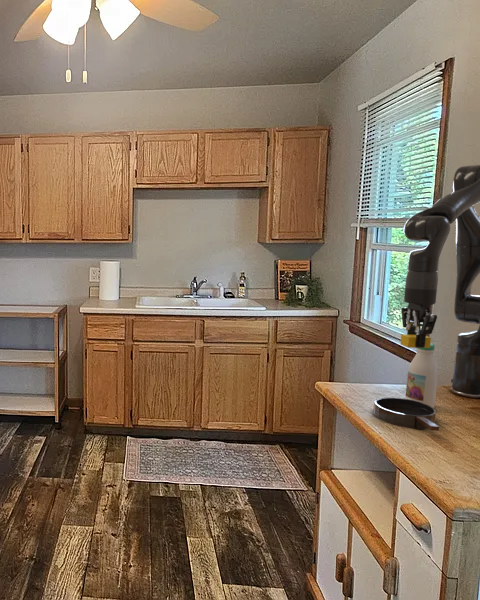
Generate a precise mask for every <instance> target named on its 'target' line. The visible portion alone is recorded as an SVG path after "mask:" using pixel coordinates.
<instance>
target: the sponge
mask: <svg viewBox="0 0 480 600" xmlns="http://www.w3.org/2000/svg"><path fill="white" fill-rule="evenodd" d="M431 340H432V337H430V336H428V335H426V339H425V347H424V348H430V343H431V342H432V341H431ZM415 344H416V335H407V333H406V334H402V333H401V335H400V345H401V346H404V347H406V348H410V349H411V348H413V349H415V348H418V347H416V346H415ZM431 344H432V343H431Z"/></svg>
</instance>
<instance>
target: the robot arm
mask: <svg viewBox="0 0 480 600" xmlns="http://www.w3.org/2000/svg"><path fill="white" fill-rule="evenodd" d="M452 189H453V192H449V193H448V194H445V195H444V196H442V197H441V198H439V199H438V200H437V201H436V202H435V203H434V204H432V205H431V207H428V208H425V209H424V210H421V211H419V212H417V213H415V214H413V215H412V216H410V217H409V218H408V219H407V221H406V222H405V224H404V227H403V233H404V236H405V238H406V239H408V240H410V241H413V242H427V245H426V247H424V248H420V249H415V250H411V251H410V252H409V256H408V264H407V273H406V277H405V285H404V296H403V301H404V302H405V303H406V304H408V305H407V307H401V308H400V309H401V321H402V322H401V323H402V327H403V328H405V330H406V335H416V344H415V346H416V347H418V348H424V347H425V339H426V336H428V335H432V334H433V331H434V328H435V325H436V322H437V320H438V315H437V314H432V313H431V312H432V310H431V306H432V305H435V304H436V303H437V301H436V300H437V293H438V284H439V283H438V281H439V276H438V275H439V274H438V273H439V263H440V256H441V254H442V251H443V248H444V246H445V243H446V241H447V240H448V237H449V235H450V232H451V224H453V223H454V222H456V223H455V225H456V226H455V227H456V229H455V230H456V231H455V233H456V234H455V262H456V263H455V264H456V281H455V282H456V284H455V291H454V292H455V293H454V306H453V312H454V317H455V319H456V320H457V321H458V322H463V323H469V324H475V325H478V328H477V329H475V330H472V331H466V332H464V331H463V332H460V333H458V334H457V337H456V344H455V345H456V346H455V356H454V365H453V374H452V378H451V380H450V383H451V389H450V391H451V393H453V394H454V395H458V396H461V397H465V398H471V399H480V295H477V294H472V287H473V284H474V282H475V280H476V279H477V278H478V276H479V275H480V216H479V215H478V213H477V211H476V209H475V207H474V206H475V205H476V204H478V203H480V164H473V165H472V164H471V165H463V166H459V167H458V168H457V169H456V170H455V173H454V174H453V179H452Z"/></svg>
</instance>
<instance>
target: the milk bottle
mask: <svg viewBox="0 0 480 600" xmlns="http://www.w3.org/2000/svg"><path fill="white" fill-rule="evenodd" d="M435 347H436V345H435V343H430V348H416V349H415V350H416V353H415V355H414V357H413V359H412V360H411V361H410V364H409V366H408V370H407V378H406V387H405V398H404V399H409V400H414V401H417V402H421V403H424V404H427V405H429V406H431V407H433V408H434V409H435V407H436V398H437V389H438V387H437V386H438V380H439V379H438V375H439V369H438V365H437V362H436V361H435V357H434V352H435Z"/></svg>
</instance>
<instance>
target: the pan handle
mask: <svg viewBox="0 0 480 600" xmlns="http://www.w3.org/2000/svg"><path fill="white" fill-rule="evenodd" d="M425 427H427V429H429V430H430V431H436V432H438V431H440V426H439V425H437V424H436V423H435V424H434V423H433V422H431V421H430V420H428V419H426V418H425V417H420V416H416V423H415V428H414V429H416V430H425V429H426V428H425Z"/></svg>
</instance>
